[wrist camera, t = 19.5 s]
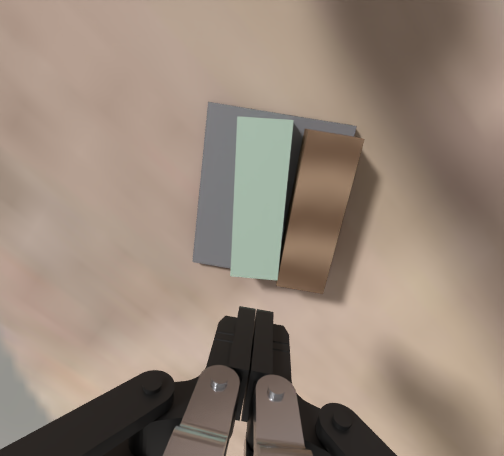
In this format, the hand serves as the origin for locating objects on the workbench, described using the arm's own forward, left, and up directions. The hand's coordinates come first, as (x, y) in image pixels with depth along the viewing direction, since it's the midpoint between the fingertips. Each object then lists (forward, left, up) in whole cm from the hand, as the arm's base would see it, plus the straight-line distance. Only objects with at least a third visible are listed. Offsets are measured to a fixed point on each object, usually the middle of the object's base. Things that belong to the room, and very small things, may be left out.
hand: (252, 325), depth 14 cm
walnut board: (0, +5, -22) cm, 23 cm away
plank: (0, -1, -22) cm, 22 cm away
